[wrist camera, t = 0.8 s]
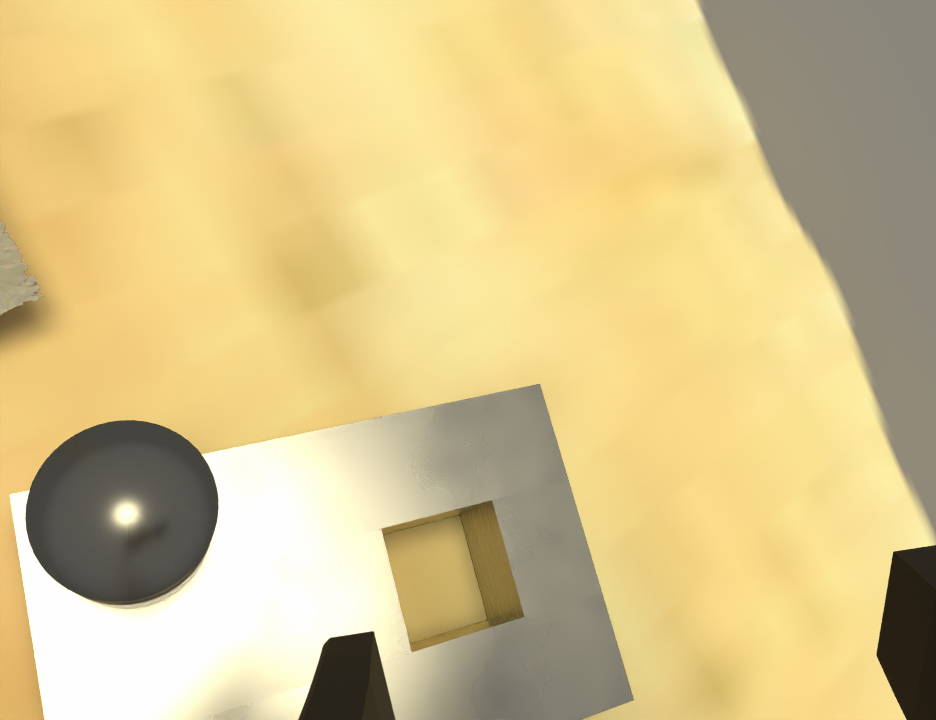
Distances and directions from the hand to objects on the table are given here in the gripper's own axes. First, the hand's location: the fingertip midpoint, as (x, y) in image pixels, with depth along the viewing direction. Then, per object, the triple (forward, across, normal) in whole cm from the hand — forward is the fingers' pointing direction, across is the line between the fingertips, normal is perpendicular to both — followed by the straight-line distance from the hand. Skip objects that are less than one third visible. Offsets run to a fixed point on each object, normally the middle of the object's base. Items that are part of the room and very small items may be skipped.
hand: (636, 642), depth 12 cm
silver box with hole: (+10, +7, +8) cm, 15 cm away
